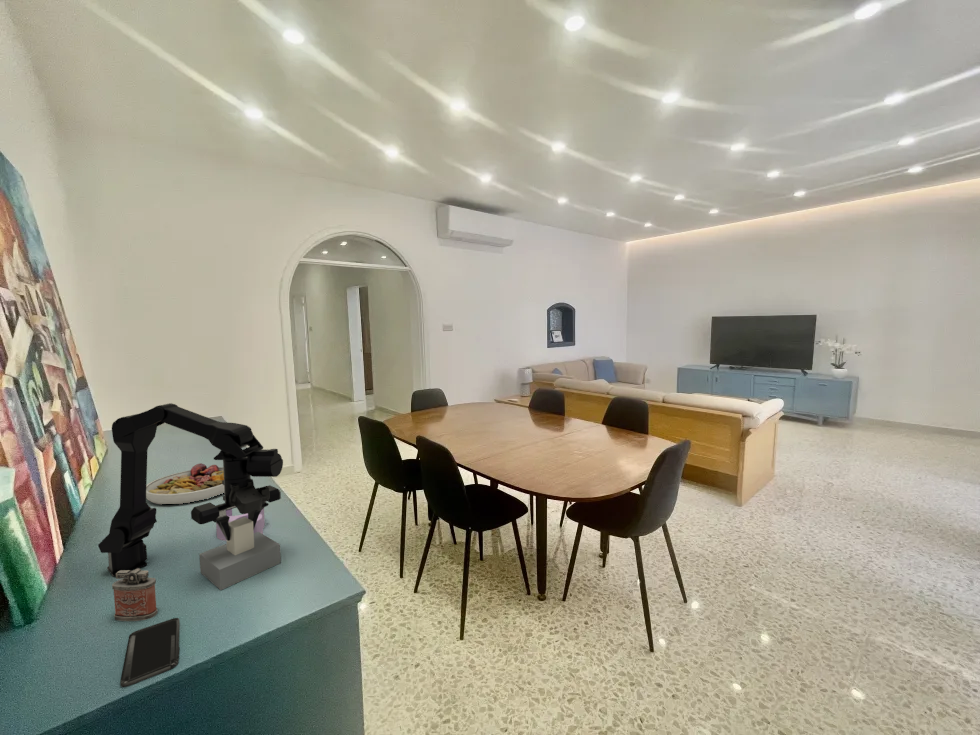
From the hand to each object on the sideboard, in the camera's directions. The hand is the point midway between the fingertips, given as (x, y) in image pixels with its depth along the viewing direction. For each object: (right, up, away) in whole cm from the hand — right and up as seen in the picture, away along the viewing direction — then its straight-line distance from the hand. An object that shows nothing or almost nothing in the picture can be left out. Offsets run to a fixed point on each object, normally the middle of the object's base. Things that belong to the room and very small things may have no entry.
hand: (240, 535), depth 102 cm
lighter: (-11, -10, -17) cm, 23 cm away
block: (0, -3, 0) cm, 4 cm away
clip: (-11, -8, +19) cm, 23 cm away
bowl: (-49, -5, +52) cm, 72 cm away
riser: (0, -9, +1) cm, 8 cm away
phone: (0, -11, -26) cm, 29 cm away
